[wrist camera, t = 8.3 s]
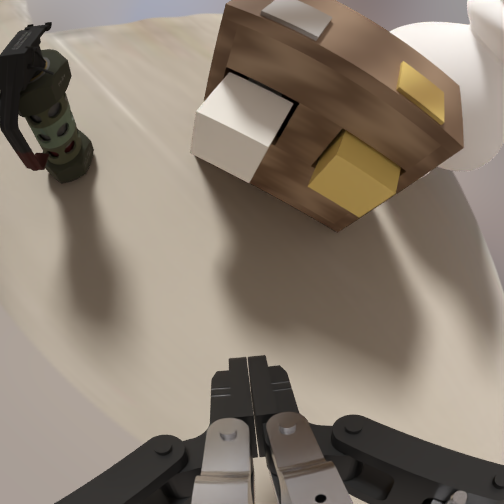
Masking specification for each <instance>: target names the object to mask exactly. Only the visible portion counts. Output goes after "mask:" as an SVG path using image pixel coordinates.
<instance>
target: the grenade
mask: <svg viewBox="0 0 504 504" xmlns="http://www.w3.org/2000/svg"><path fill="white" fill-rule="evenodd" d="M51 25H52V23H51V22H48V23H45V25H41V26H33V24H32V25H27V27H26V28H25V29H24V30H21V31H19V32H18V33H17V34H16V35H15V37H14V38H13V39H12V40H11V42H10V43H9V44H8V45H7V47H6V48H5V49H4V50H3V52H2V53H1V54H0V128H1V131H2V132H3V134H4V135H5V137H6V138H7V140H8V141H9V143H10V144H11V146H12V147H13V149H14V150H15V152H16V153H17V155H18V156H19V158H20V159H21V160H22V162H23V163H24V165H25V166H26V167H27V168H29V169H32V170H33V171H37V170H44V169H45V168H46V170H47V171H48V172H49V173H50V174H51V175H52V176H53V177H54V178H55V179H56V180H58V181H59V182H60V183H65V182H69V181H72V180H75V179H77V178H79V177H80V176H82V175H84V174H85V173H86V172H87V170H88V168H89V166H90V162H91V159H92V156H93V151H94V149H93V146H92V143H91V141H90V140H89V138H88V137H87V136H86V135H84V134H83V133H82V132H81V131H79V130H78V129H77V127H76V123H75V120H74V117H73V115H72V112H71V110H70V105H69V102H68V99H67V96H66V93H65V91H66V90H67V87H68V85H69V82H70V79H71V72H70V68H69V64H68V60H67V59H66V58H64V57H63V56H62V55H61V54H60V53H59V52H58V51H55V50H50V49H48V50H41V49H40V46H39V44H40V43H41V41H40V37H41V36H42V34H43V33H44V32H45V31H48V30H50V28H51ZM18 114H19V115H20V116H22V117H25V118H26V120H27V122H28V124H29V126H30V128H31V130H32V131H33V133H34V135H35V137H36V139H37V141H38V142H39V144H40V146H41V148H42V149H43V153H36V154H35V155H34V153H33V152H32V150H31V148H30V147H29V145H28V143H27V142H26V140H25V138H24V137H23V135H22V133H21V132H20V130H19V127H18Z"/></svg>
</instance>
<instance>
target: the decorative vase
mask: <svg viewBox="0 0 504 504" xmlns="http://www.w3.org/2000/svg"><path fill="white" fill-rule="evenodd" d="M467 11H468V17H469V21H470V24H469V25H465V24H457V23H445V22H422V23H415V24H410V25H405V26H401V27H398V28H396V29H394V30H392V31H390V33H392V34H393V35H395V36H396V37H398V38H399V39H401V40H402V41H404V42H405V43H406V44H408V45H409V46H411V47H412V48H413V49H415V50H416V51H417V52H419V53H420V54H421V55H423V56H424V57H425V58H427V59H428V60H429V61H430V62H432V63H433V64H434V65H435V66H437V67H438V68H439V69H440V70H442V71H443V72H444V73H445V74H446V75H448V76H449V77H450V78H451V79H452V80H453V81H455V82H456V83H457V84H458V85H459V86H460V94H461V104H462V117H463V135H464V148H463V149H462V150H460V151H459V152H457V153H456V154H454V155H453V156H452V157H450V158H449V159H447V160H446V161H444V162H443V163H441V164H440V165H438V166H437V167H439V168H443V169H447V170H452V171H471V170H475V169H478V168H480V167H482V166H484V165H486V164H487V163H488V162H489V161H490V160H492V159H493V158H494V157H495V156H496V154H497V153H498V152H499V150H500V149H501V147H502V145H503V143H504V0H468V2H467ZM430 172H431V171H430ZM430 172H428V173H427V174H429V173H430ZM427 174H425V175H424V176H422V177H421V178H423V177H425V176H426V175H427ZM419 179H420V178H419Z"/></svg>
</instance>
